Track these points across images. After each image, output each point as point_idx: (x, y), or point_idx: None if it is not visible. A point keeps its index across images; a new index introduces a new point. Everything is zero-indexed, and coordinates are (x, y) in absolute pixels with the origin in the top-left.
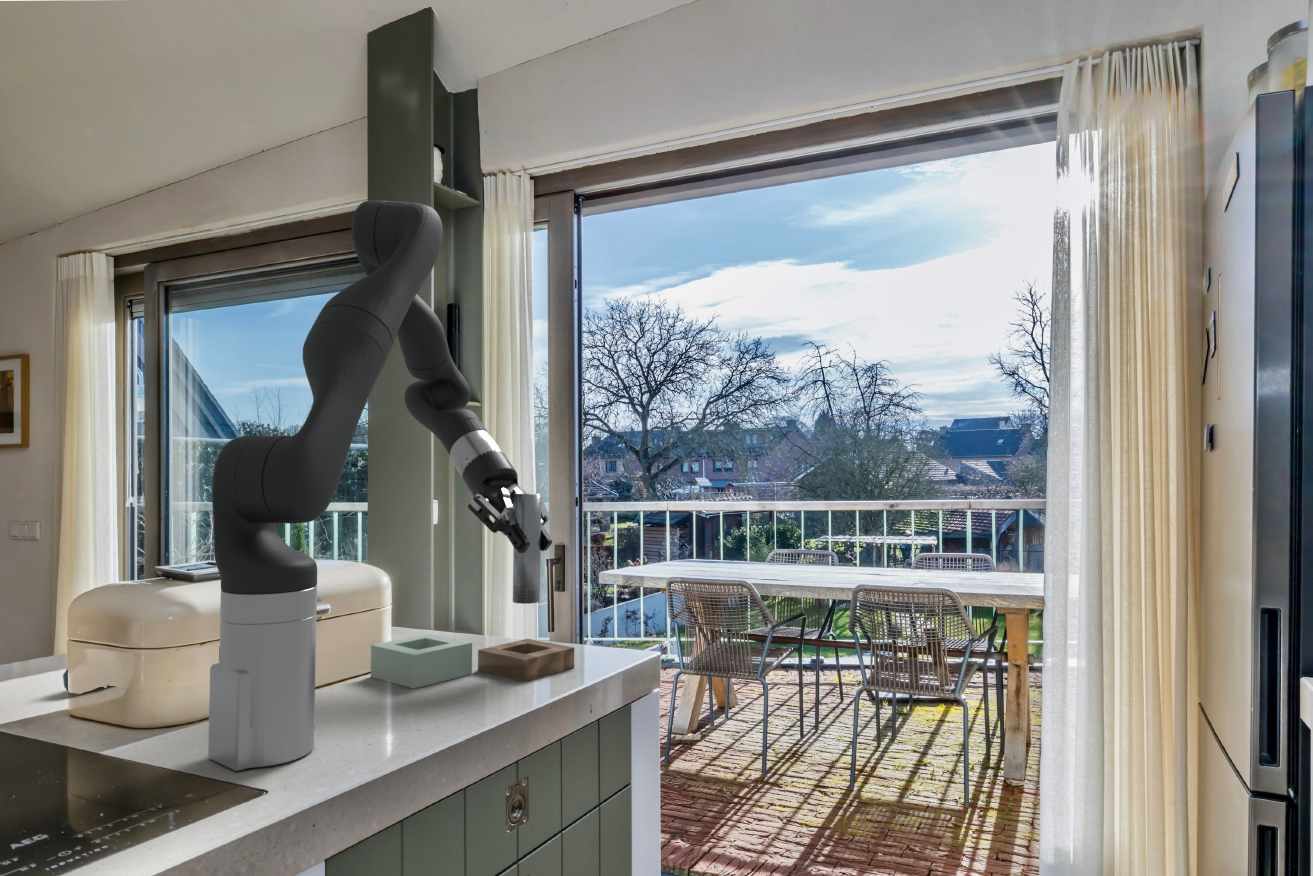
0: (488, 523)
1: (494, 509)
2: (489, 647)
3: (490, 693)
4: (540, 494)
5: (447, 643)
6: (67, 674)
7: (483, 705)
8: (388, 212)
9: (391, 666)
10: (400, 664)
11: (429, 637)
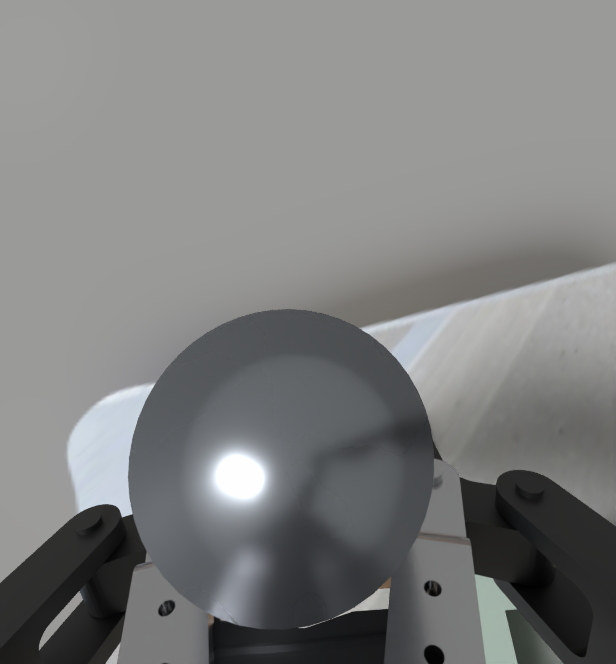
0: (582, 598)
1: (604, 575)
2: (383, 586)
3: (476, 409)
4: (221, 326)
5: (507, 623)
6: None
7: (518, 362)
8: None
9: None
10: None
11: None
